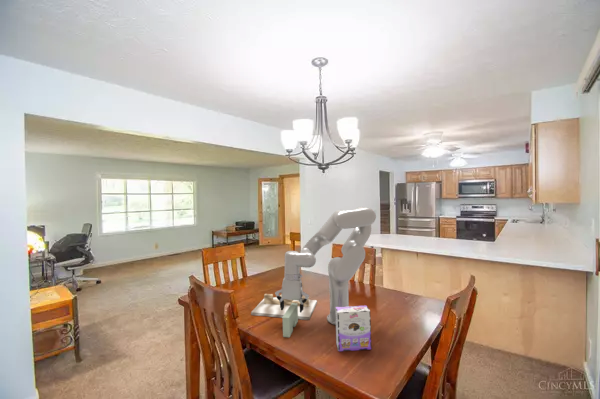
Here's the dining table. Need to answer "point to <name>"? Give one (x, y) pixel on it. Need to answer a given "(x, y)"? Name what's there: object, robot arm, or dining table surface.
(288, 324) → the cross piece
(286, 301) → the white rectangular board
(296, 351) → the dining table surface
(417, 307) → the dining table surface
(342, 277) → the robot arm
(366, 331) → the candy box
